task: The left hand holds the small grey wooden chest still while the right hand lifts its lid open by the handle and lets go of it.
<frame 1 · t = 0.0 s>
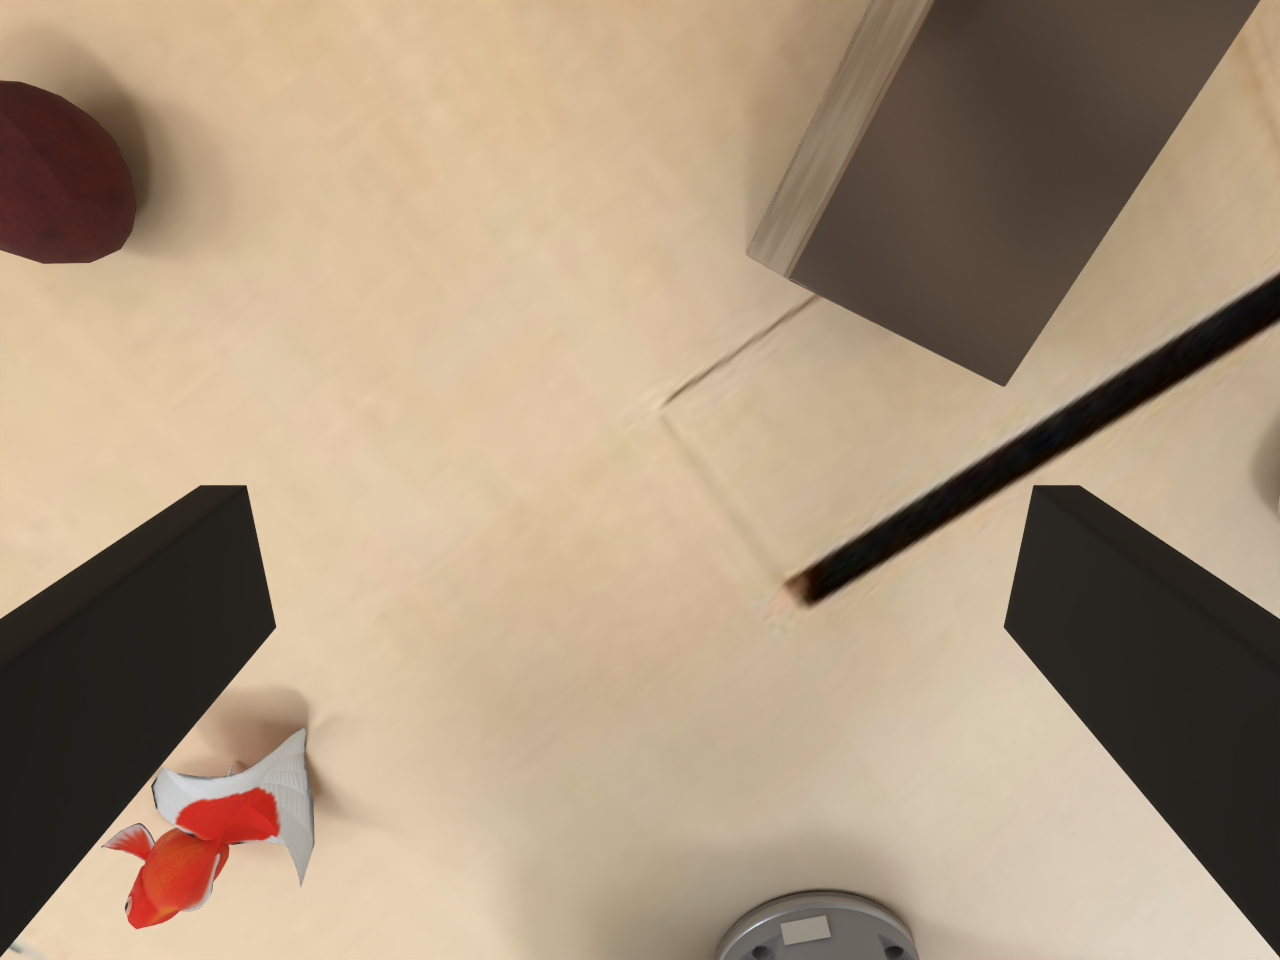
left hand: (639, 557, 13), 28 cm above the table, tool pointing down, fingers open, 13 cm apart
chest: (916, 127, 35), on the table
fish: (247, 777, 50), on the table
lid: (1105, 69, 21), point 15 cm above the table, hinge at 0.0°
potato: (94, 180, 36), on the table
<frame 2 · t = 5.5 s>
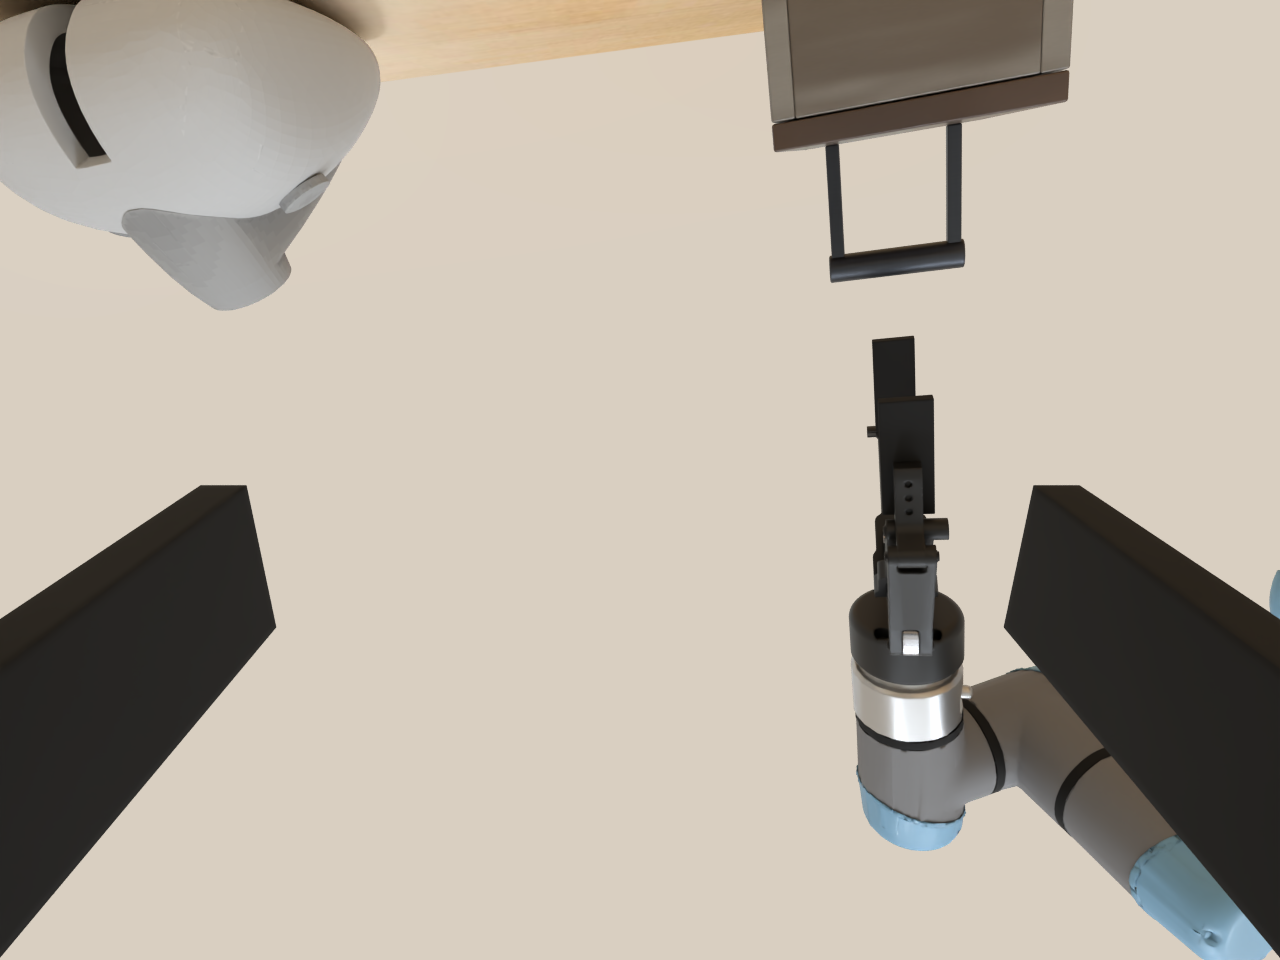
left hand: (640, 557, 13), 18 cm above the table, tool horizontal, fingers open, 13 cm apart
right hand: (898, 364, 44), fingers open, 13 cm apart
projector: (209, 14, 40), on the table
lid: (900, 207, 35), point 15 cm above the table, hinge at 0.0°
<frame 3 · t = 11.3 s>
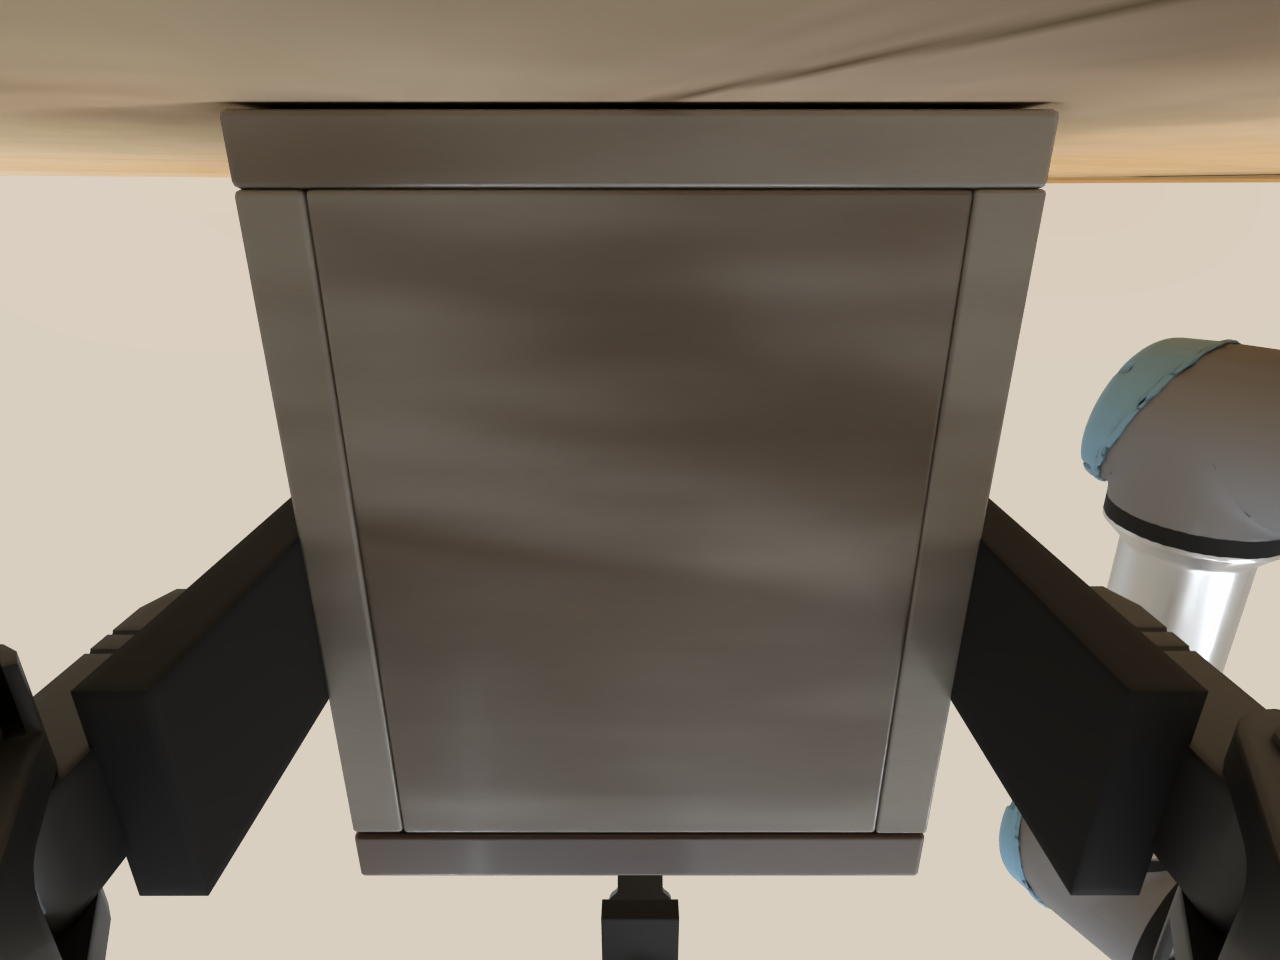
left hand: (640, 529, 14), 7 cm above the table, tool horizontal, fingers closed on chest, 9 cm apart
chest: (639, 149, 16), on the table, touching left hand
lid: (639, 693, 22), point 15 cm above the table, hinge at 0.0°
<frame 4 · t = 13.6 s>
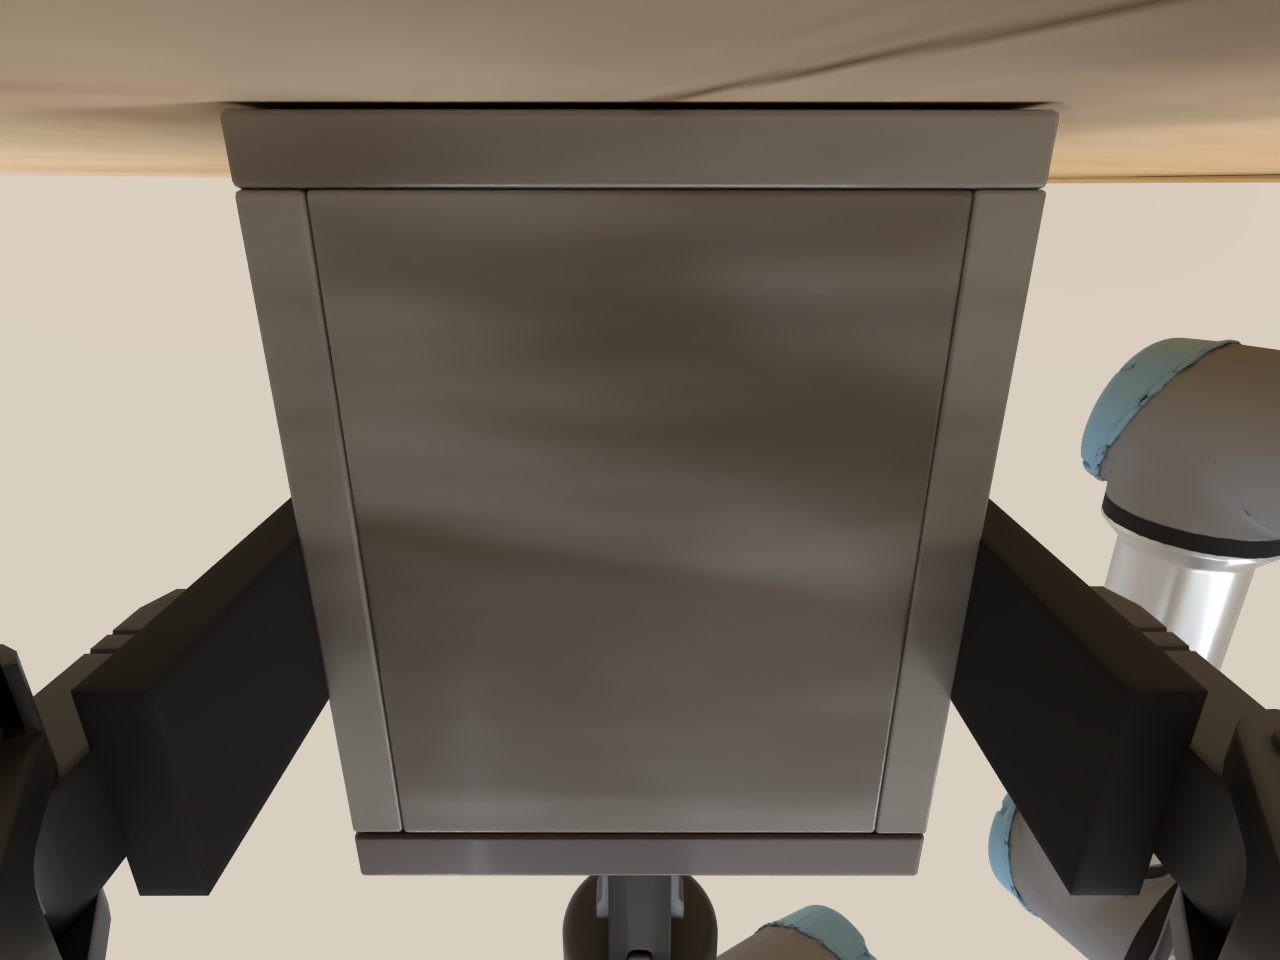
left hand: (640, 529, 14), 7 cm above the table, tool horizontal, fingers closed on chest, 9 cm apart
chest: (639, 149, 16), on the table, touching left hand
lid: (639, 692, 22), point 15 cm above the table, hinge at -0.1°, touching right hand
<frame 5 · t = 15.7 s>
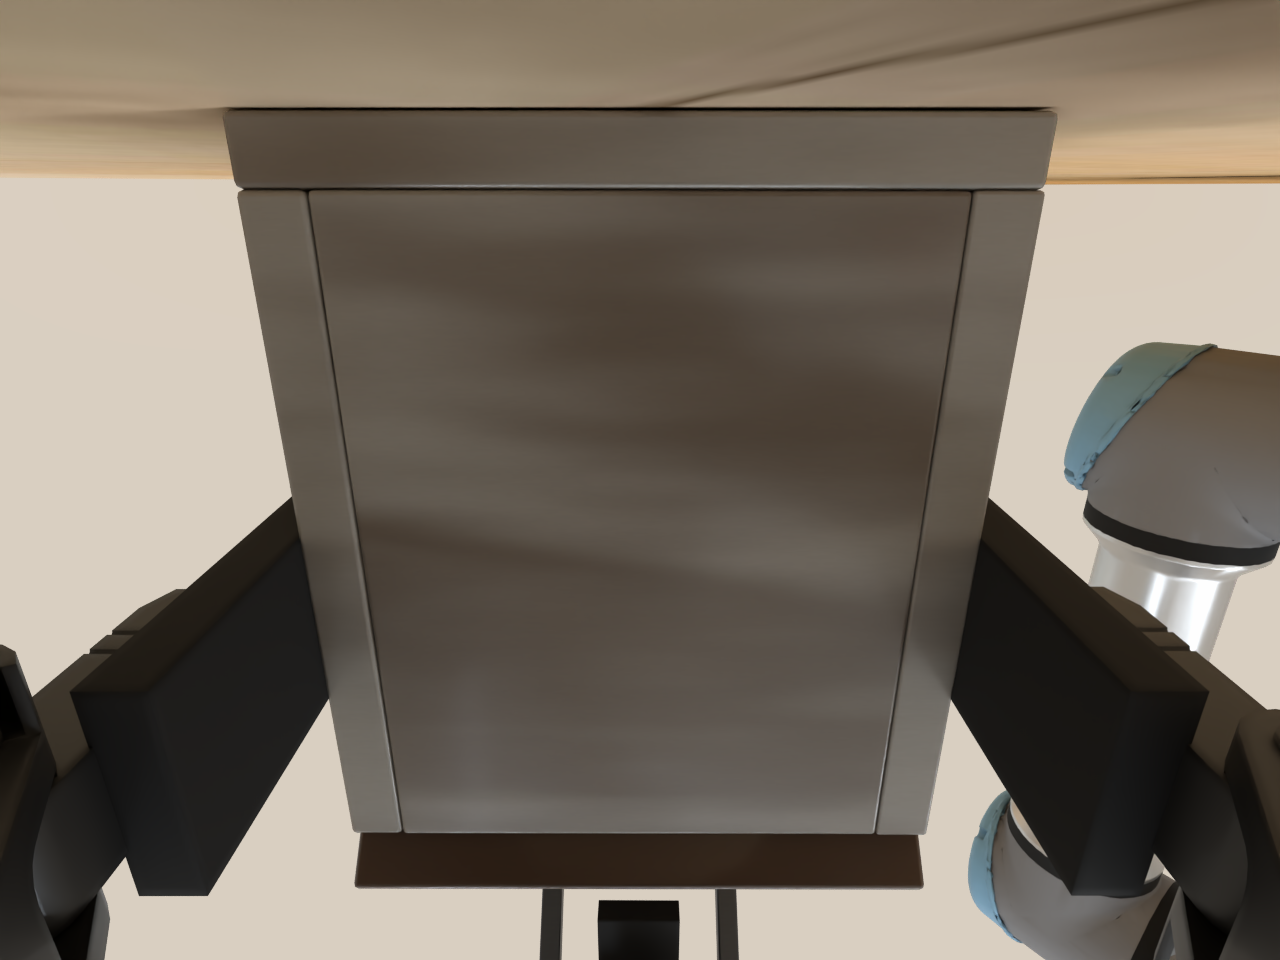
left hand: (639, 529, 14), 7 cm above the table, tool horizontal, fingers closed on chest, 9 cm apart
chest: (640, 152, 16), on the table, touching left hand
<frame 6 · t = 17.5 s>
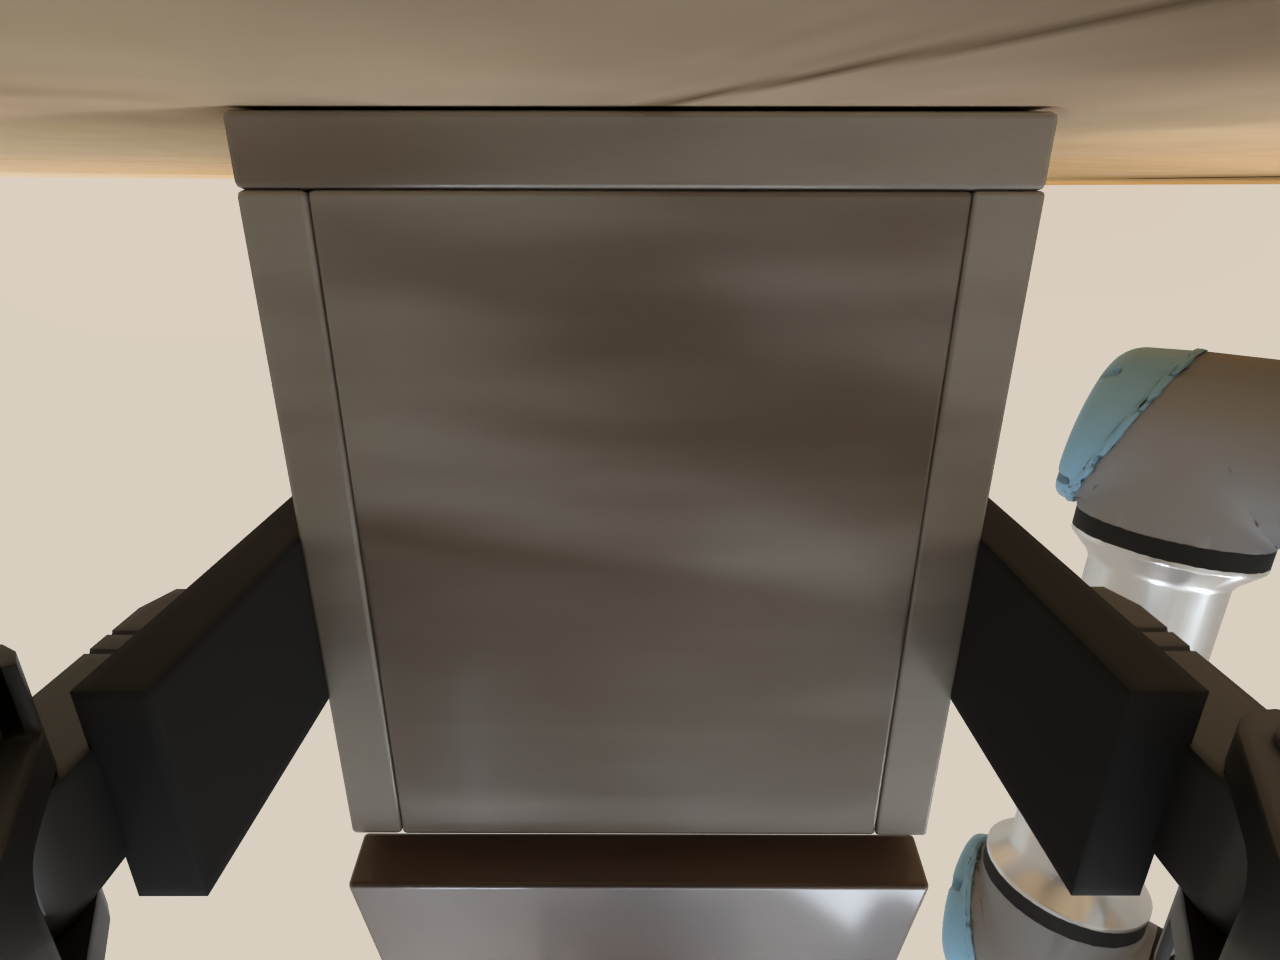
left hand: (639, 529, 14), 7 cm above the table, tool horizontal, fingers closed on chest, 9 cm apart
chest: (640, 152, 16), on the table, touching left hand
when the left hand's fingers open (7 cm above the table, at t = 21.6 s): chest stays where it is, on the table.
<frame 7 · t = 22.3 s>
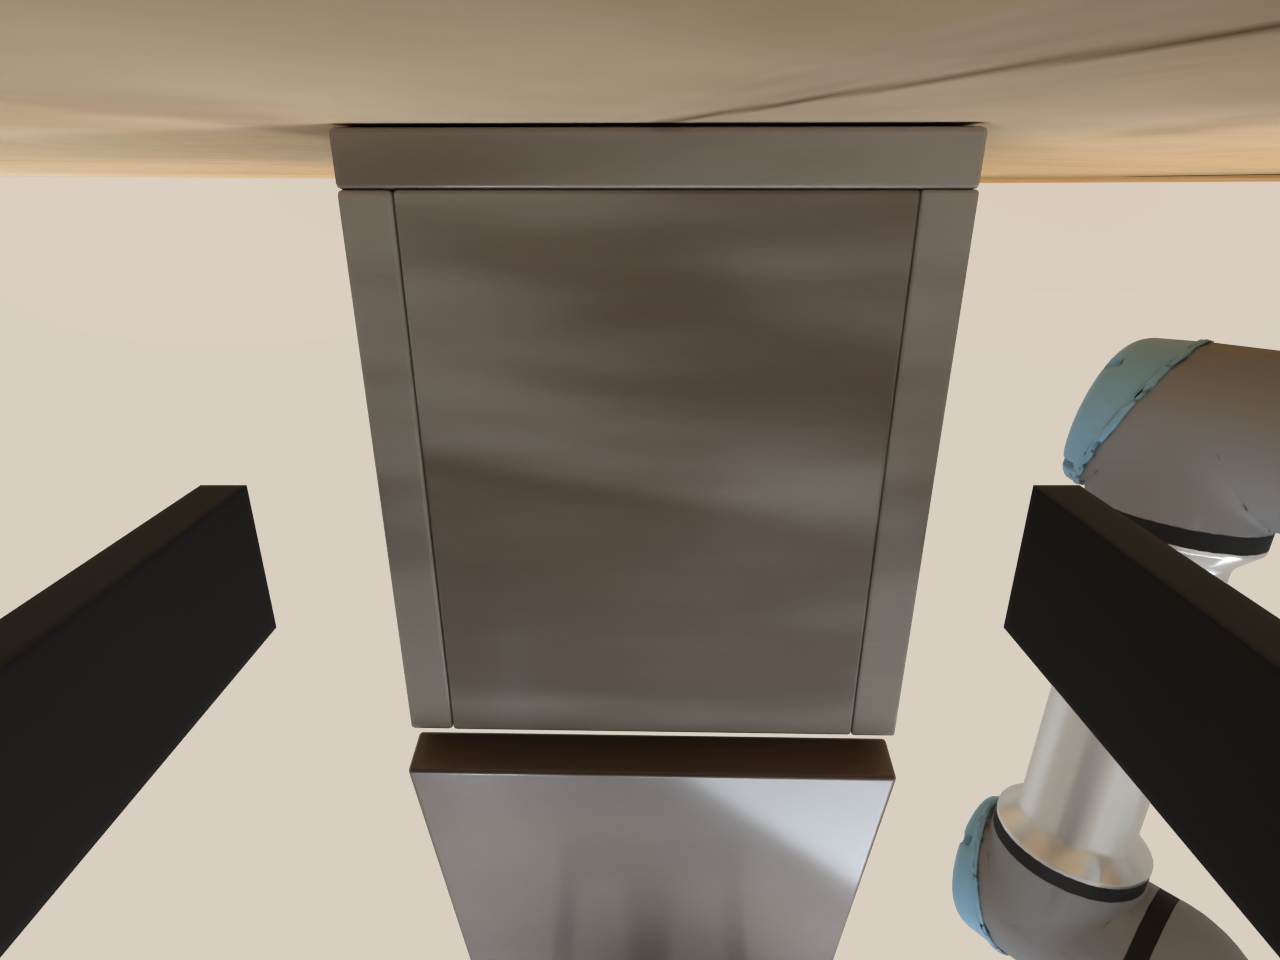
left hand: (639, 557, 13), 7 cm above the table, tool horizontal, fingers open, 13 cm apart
chest: (655, 154, 19), on the table
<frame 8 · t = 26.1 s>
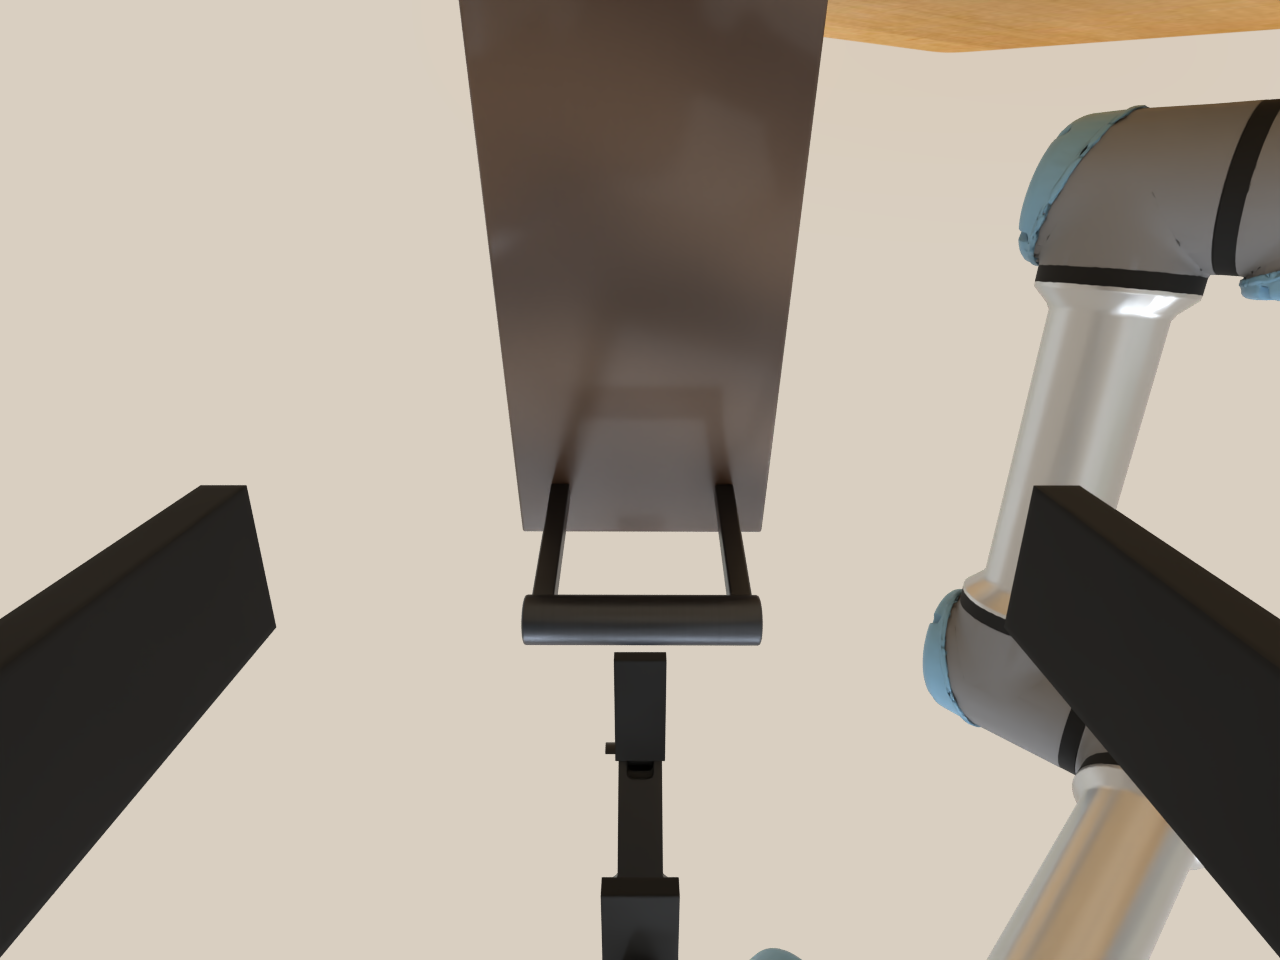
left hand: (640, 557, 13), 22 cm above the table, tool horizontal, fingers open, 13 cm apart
lid: (642, 361, 21), point 21 cm above the table, hinge at 75.5°
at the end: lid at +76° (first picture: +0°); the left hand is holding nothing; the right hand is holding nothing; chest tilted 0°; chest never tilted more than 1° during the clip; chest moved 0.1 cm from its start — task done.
